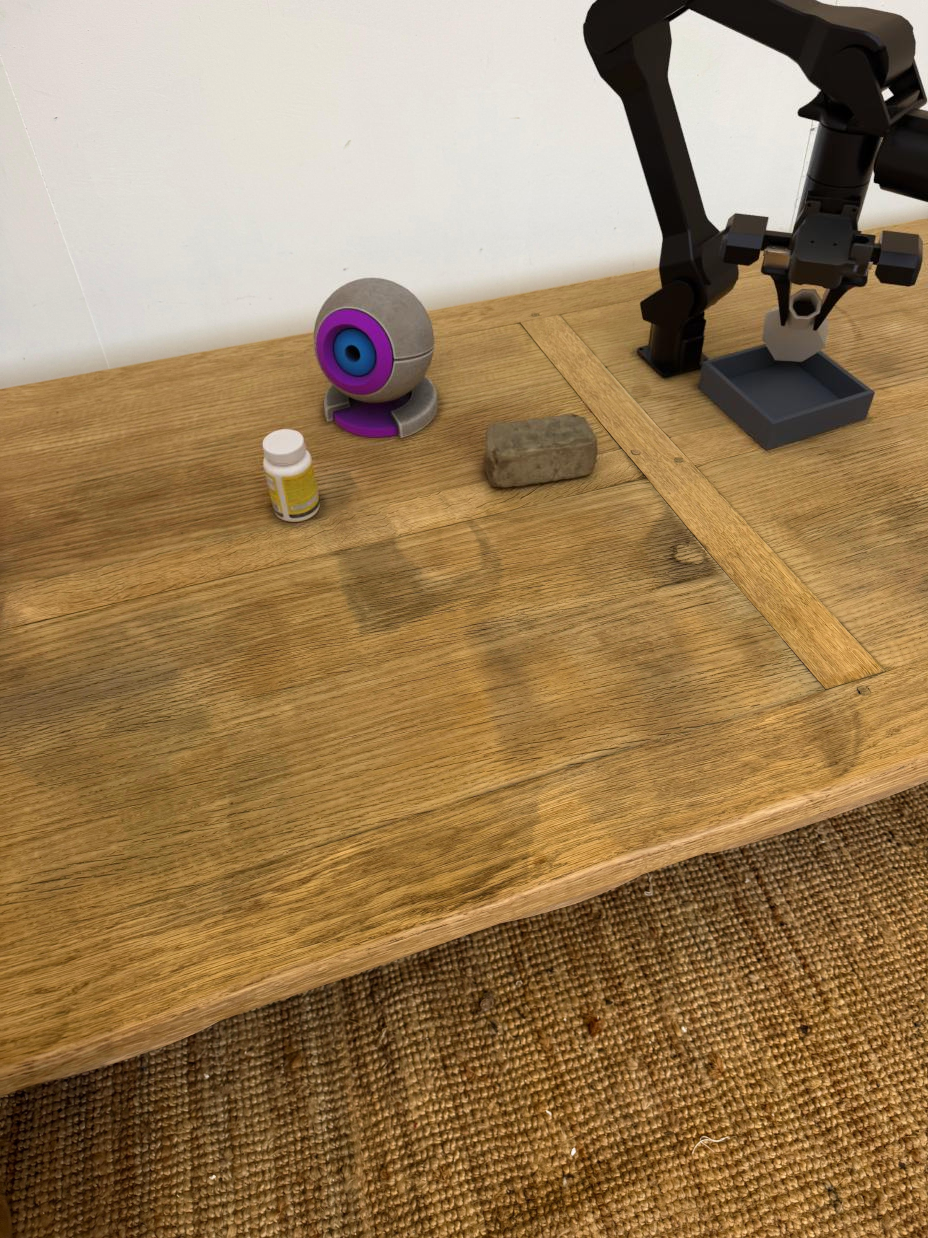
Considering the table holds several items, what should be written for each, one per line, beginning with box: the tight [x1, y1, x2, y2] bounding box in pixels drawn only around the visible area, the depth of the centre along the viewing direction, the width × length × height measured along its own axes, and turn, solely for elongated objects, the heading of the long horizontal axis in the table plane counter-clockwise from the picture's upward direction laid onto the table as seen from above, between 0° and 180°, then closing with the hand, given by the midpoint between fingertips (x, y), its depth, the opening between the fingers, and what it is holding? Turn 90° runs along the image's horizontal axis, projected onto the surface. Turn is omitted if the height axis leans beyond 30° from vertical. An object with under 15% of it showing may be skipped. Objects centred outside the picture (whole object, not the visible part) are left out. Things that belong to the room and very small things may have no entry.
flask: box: [761, 288, 830, 362], centre depth 100 cm, size 7×7×10 cm
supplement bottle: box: [262, 428, 321, 523], centre depth 93 cm, size 5×5×8 cm
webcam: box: [313, 277, 439, 439], centre depth 102 cm, size 13×13×15 cm
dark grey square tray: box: [697, 343, 876, 452], centre depth 105 cm, size 13×13×4 cm
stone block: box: [482, 413, 598, 488], centre depth 97 cm, size 6×12×5 cm, turn 102°
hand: (798, 326), depth 99 cm, fingers closed on flask, 3 cm apart
